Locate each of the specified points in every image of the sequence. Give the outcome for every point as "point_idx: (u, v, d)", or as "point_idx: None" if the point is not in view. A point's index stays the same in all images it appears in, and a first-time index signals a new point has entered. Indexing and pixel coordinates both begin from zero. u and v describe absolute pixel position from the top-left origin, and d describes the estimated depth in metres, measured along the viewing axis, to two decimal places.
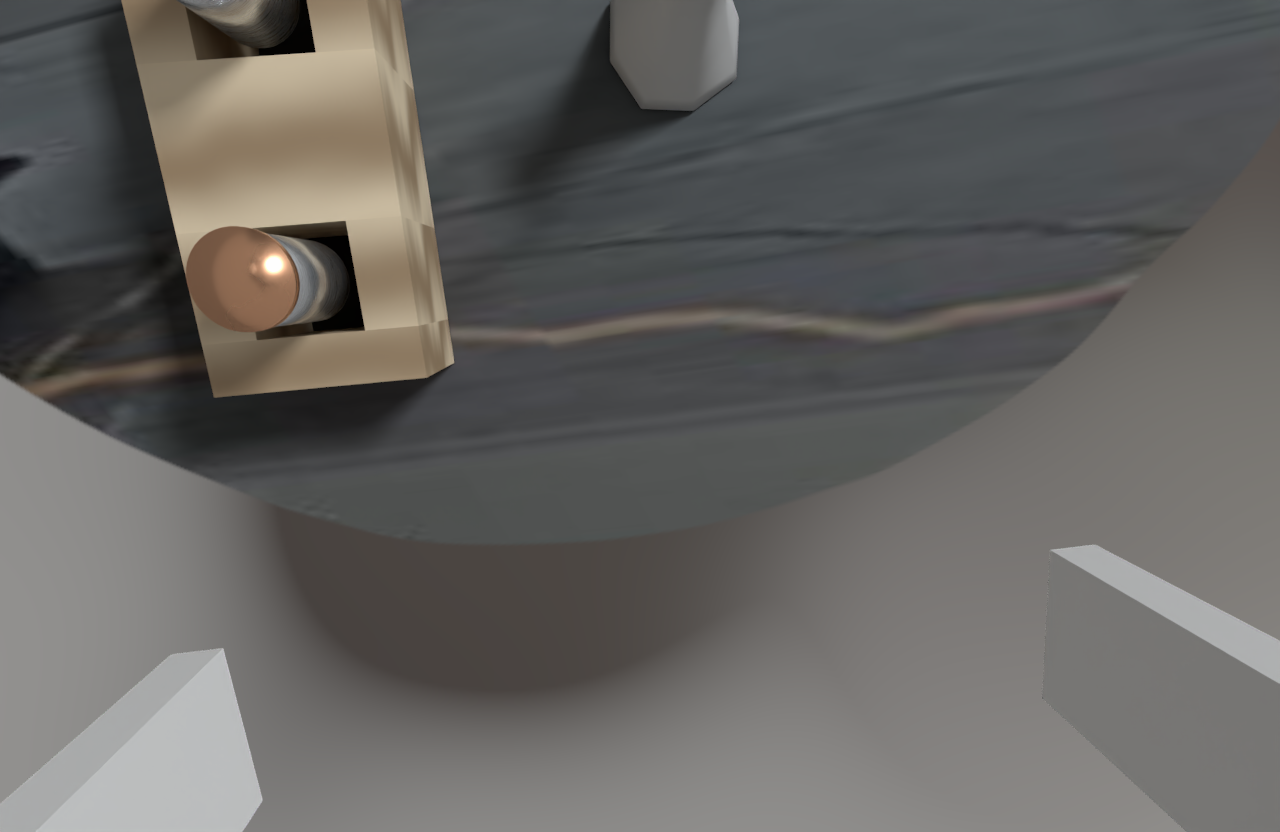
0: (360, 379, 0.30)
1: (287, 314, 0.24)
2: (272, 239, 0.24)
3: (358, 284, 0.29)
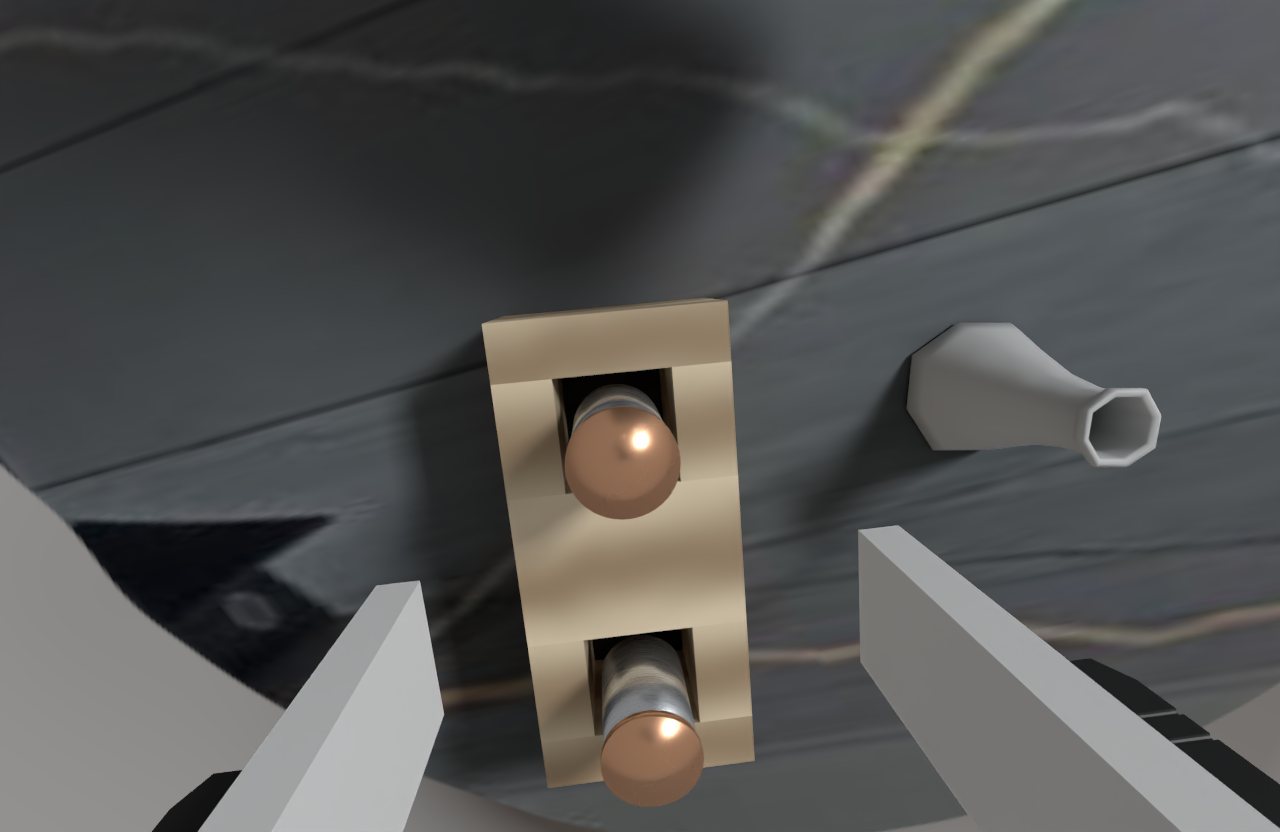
0: None
1: (690, 786, 0.24)
2: (685, 723, 0.24)
3: (698, 682, 0.29)
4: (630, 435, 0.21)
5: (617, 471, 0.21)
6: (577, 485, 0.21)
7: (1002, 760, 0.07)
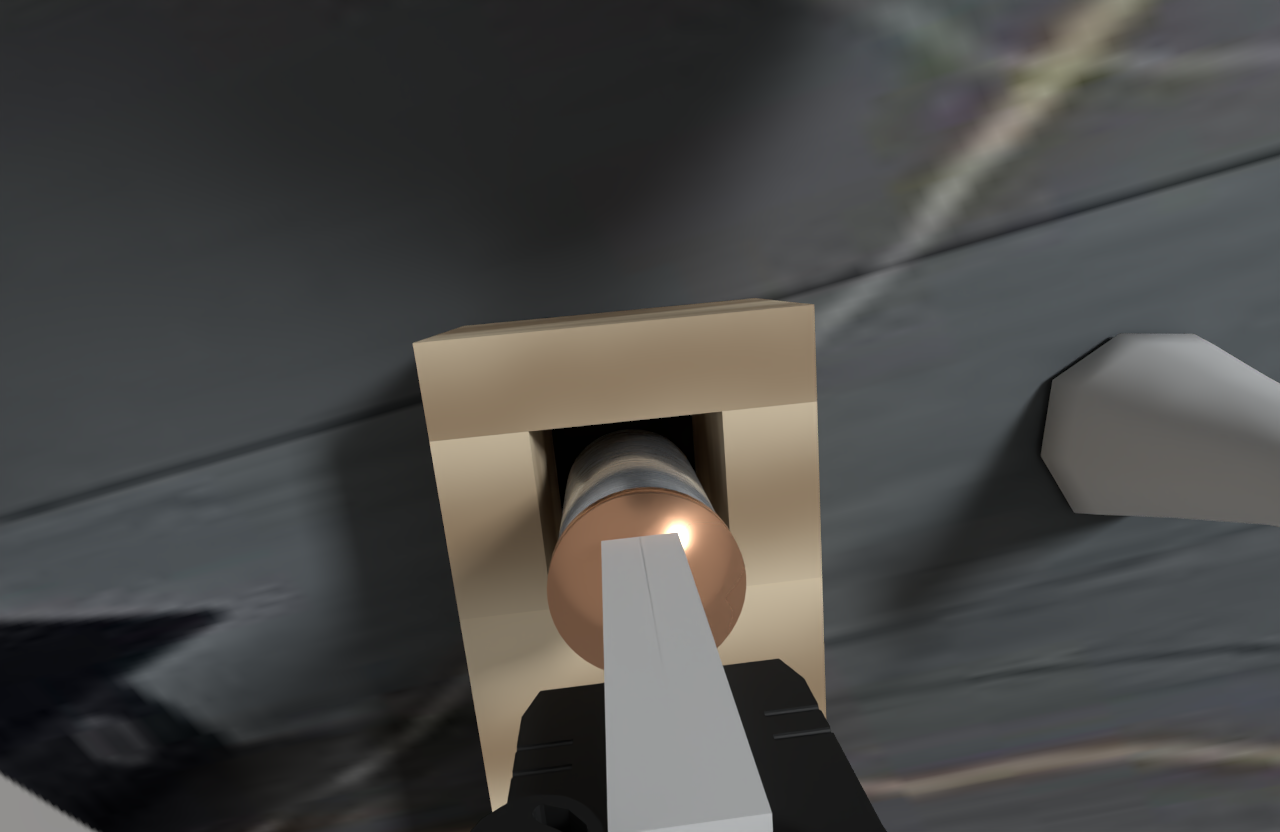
0: None
1: None
2: None
3: None
4: None
5: None
6: (569, 624, 0.12)
7: None
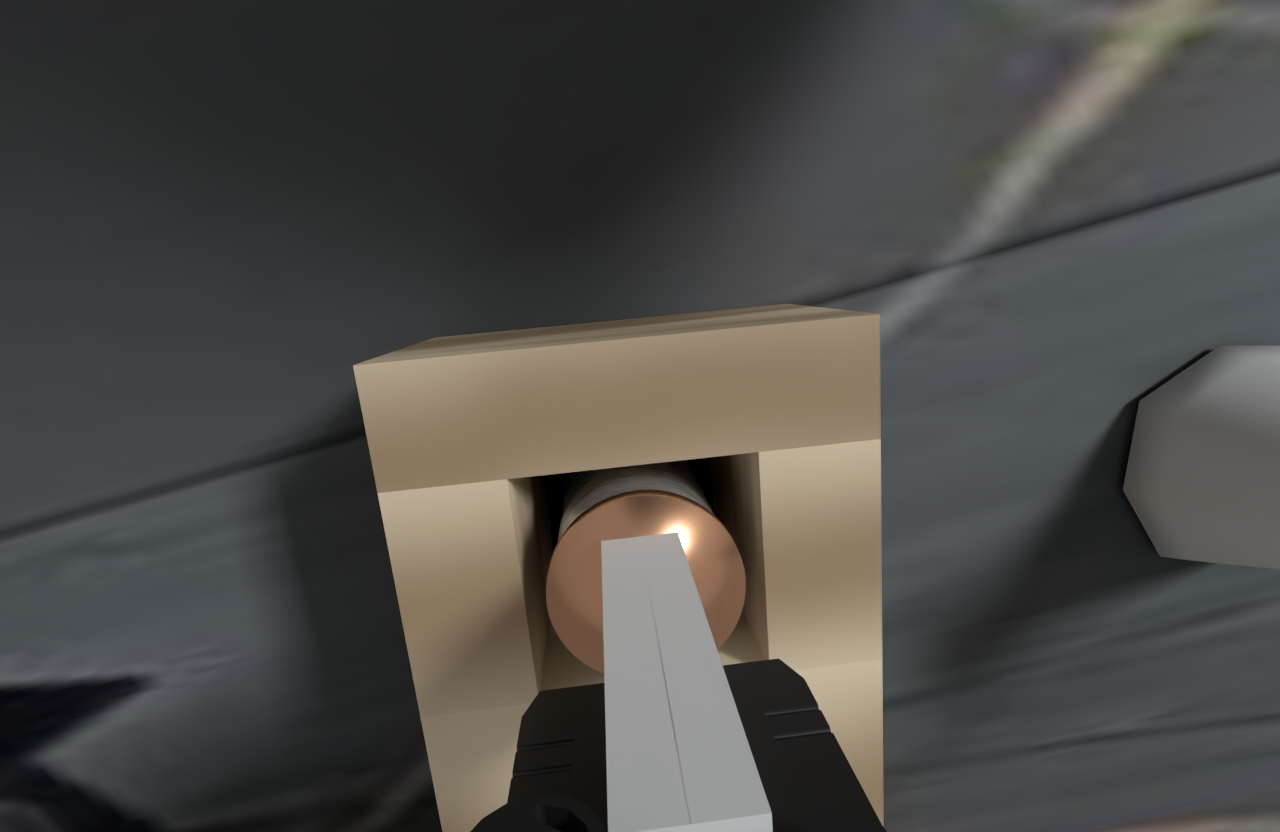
0: None
1: None
2: None
3: None
4: None
5: None
6: (568, 627, 0.12)
7: None
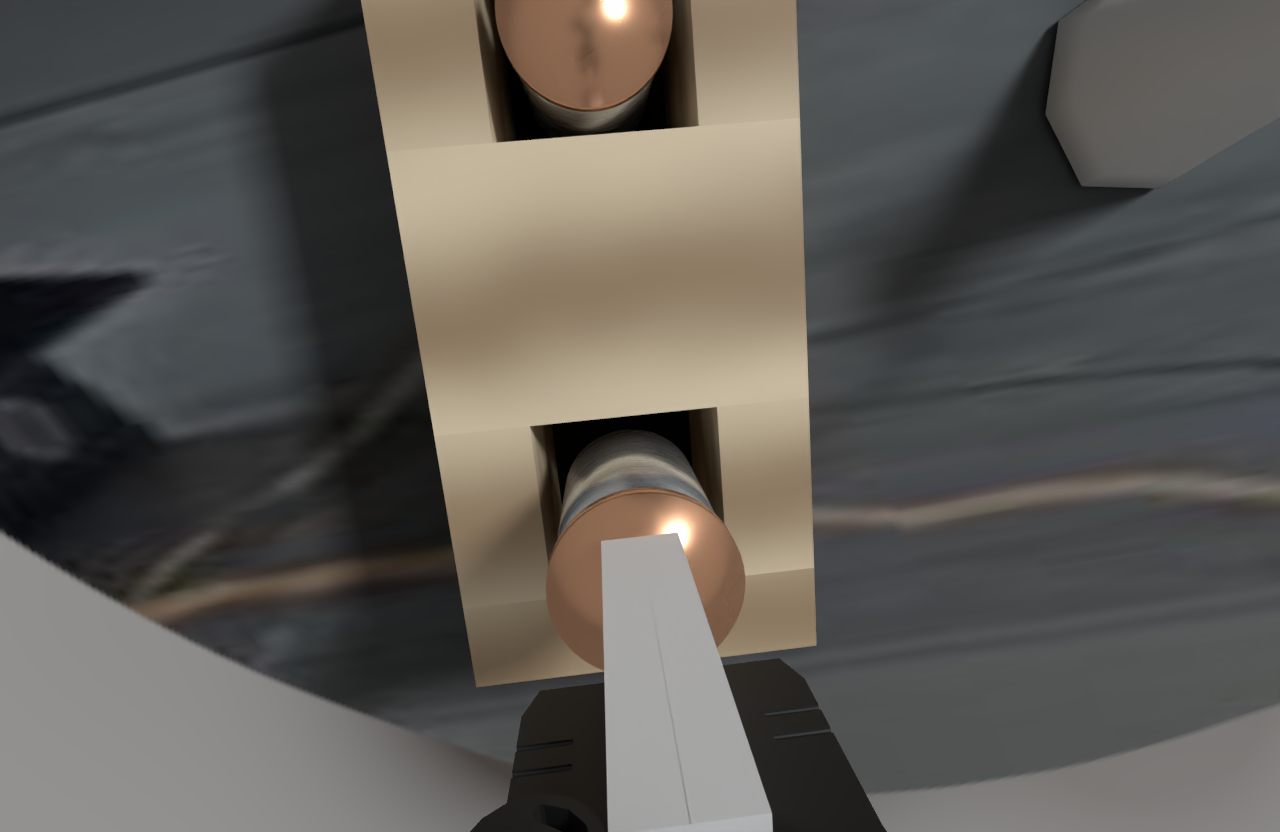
0: None
1: (718, 640, 0.13)
2: (709, 512, 0.12)
3: (726, 507, 0.17)
4: None
5: (576, 24, 0.14)
6: (515, 44, 0.14)
7: None
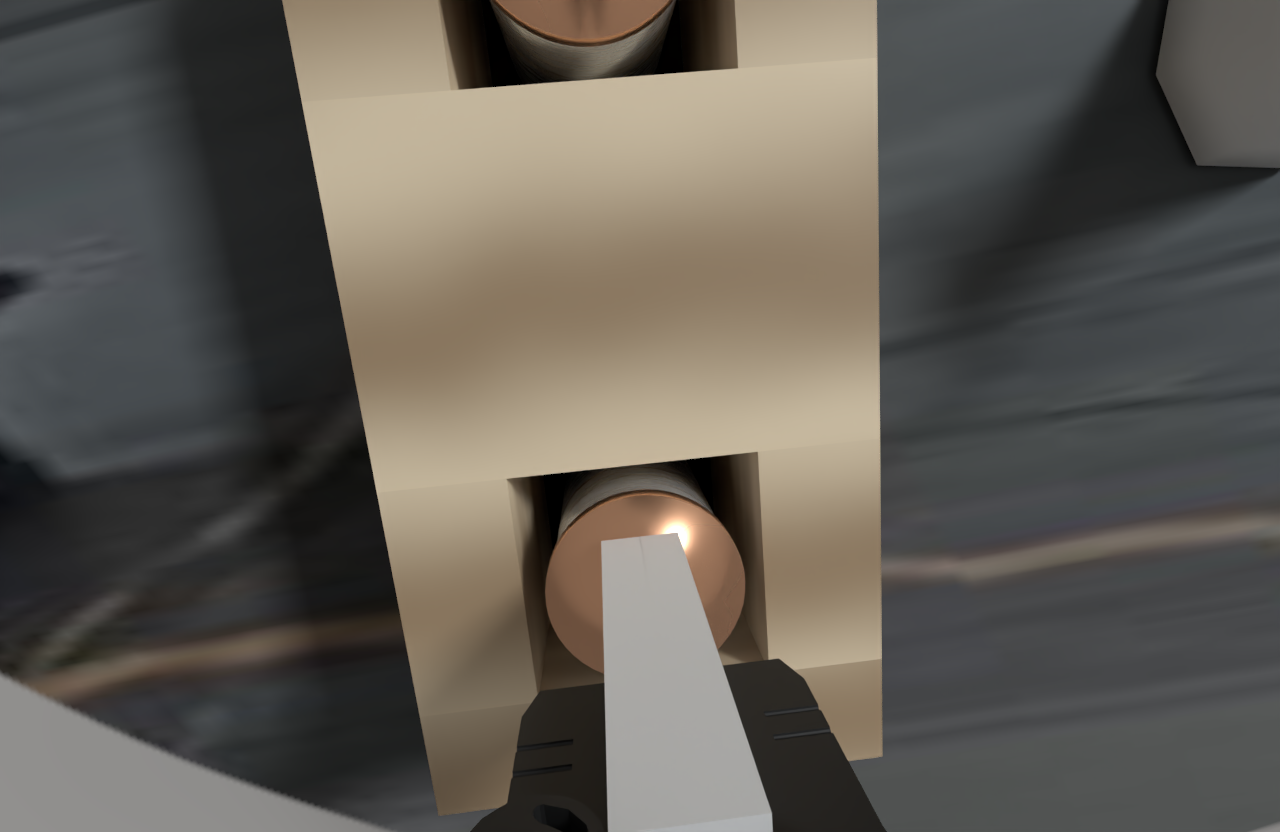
0: None
1: None
2: (709, 514, 0.12)
3: (768, 583, 0.13)
4: None
5: None
6: None
7: None
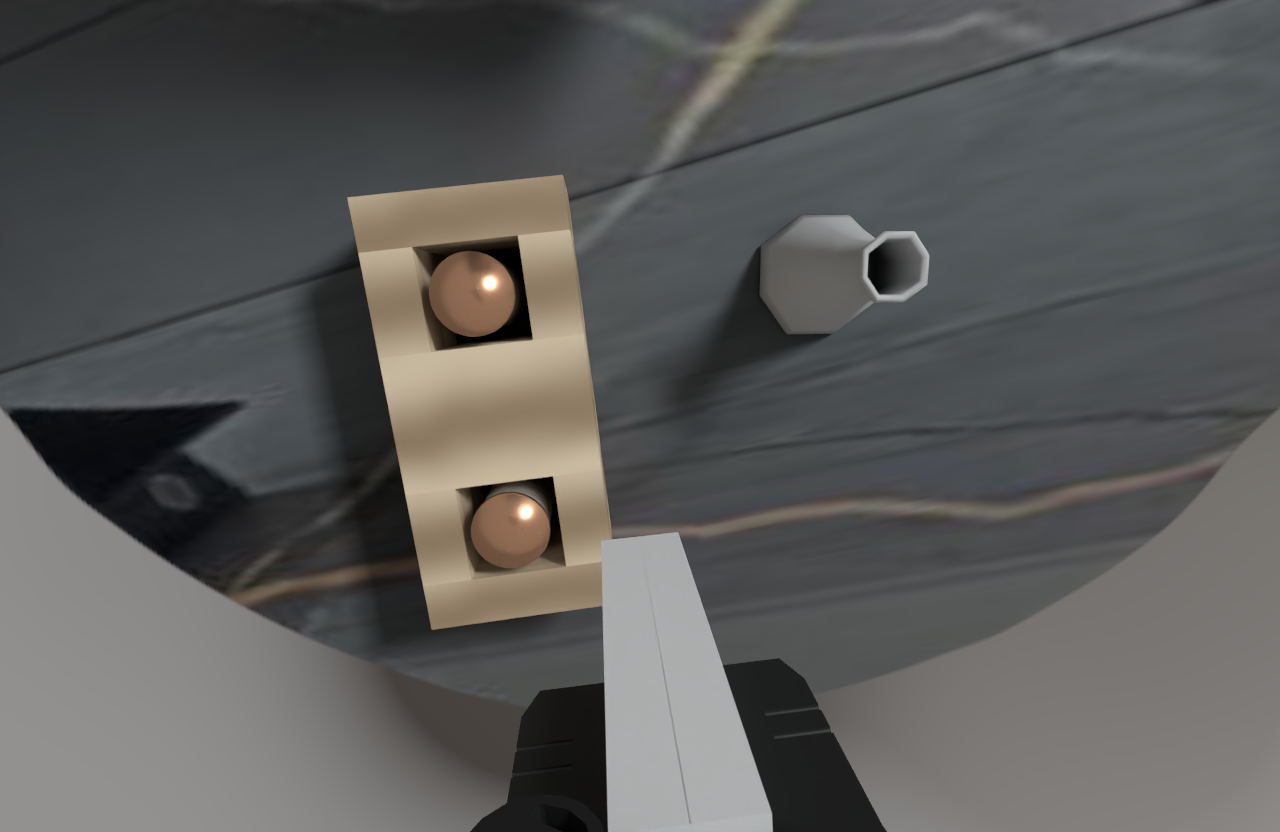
0: (560, 607, 0.33)
1: (542, 552, 0.32)
2: (534, 500, 0.32)
3: (562, 528, 0.32)
4: (476, 272, 0.29)
5: (468, 300, 0.30)
6: (439, 310, 0.30)
7: None
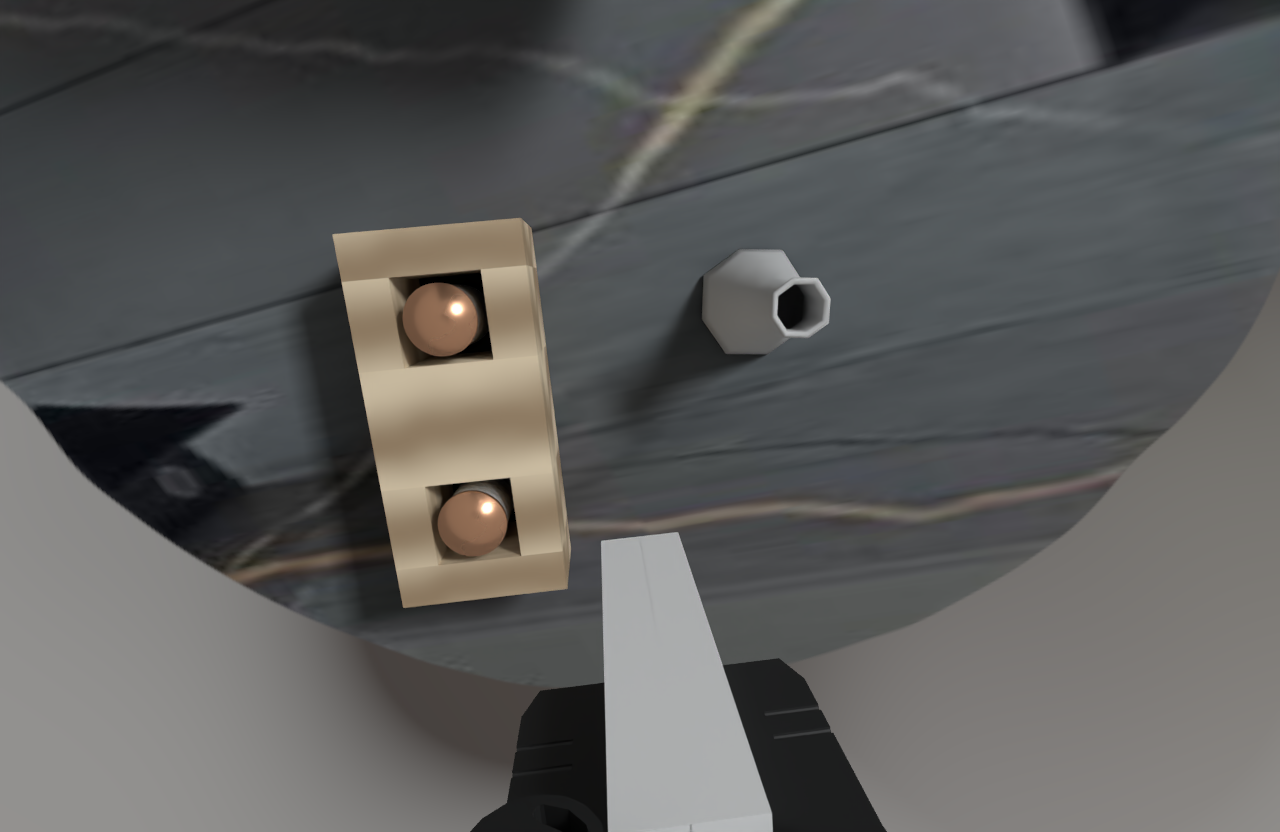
0: (516, 591, 0.38)
1: (499, 543, 0.37)
2: (493, 498, 0.37)
3: (517, 523, 0.37)
4: (443, 300, 0.34)
5: (436, 324, 0.34)
6: (411, 333, 0.34)
7: None
